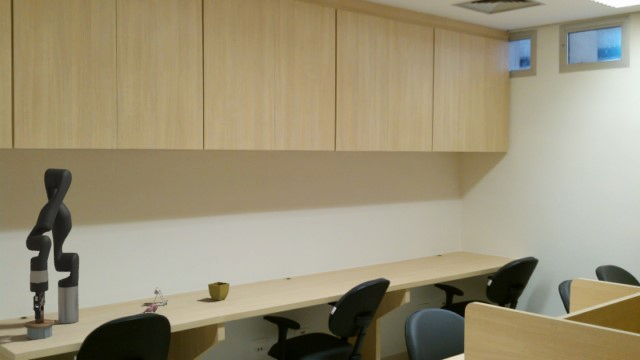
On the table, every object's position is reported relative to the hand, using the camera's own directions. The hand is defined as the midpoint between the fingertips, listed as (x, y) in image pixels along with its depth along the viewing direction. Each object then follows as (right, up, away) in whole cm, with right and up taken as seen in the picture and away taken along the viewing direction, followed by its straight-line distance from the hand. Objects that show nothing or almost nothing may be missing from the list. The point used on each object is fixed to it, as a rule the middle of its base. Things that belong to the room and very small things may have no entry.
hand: (39, 316), depth 290 cm
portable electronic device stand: (+37, -7, +66) cm, 76 cm away
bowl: (0, -9, 0) cm, 9 cm away
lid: (0, -4, 0) cm, 4 cm away
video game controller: (+39, -8, +39) cm, 55 cm away
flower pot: (+67, -7, +77) cm, 102 cm away
